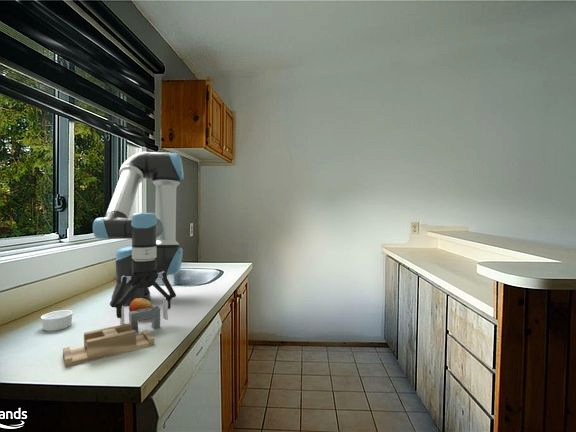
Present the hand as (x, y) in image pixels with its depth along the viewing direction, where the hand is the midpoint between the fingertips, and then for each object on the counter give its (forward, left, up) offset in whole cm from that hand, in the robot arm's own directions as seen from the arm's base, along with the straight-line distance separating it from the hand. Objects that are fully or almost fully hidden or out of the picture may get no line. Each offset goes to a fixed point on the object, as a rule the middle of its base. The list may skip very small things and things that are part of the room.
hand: (144, 322), depth 109 cm
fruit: (-13, +2, -3) cm, 14 cm away
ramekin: (-20, -23, -3) cm, 31 cm away
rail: (+10, -12, -2) cm, 15 cm away
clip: (0, 0, -2) cm, 2 cm away
